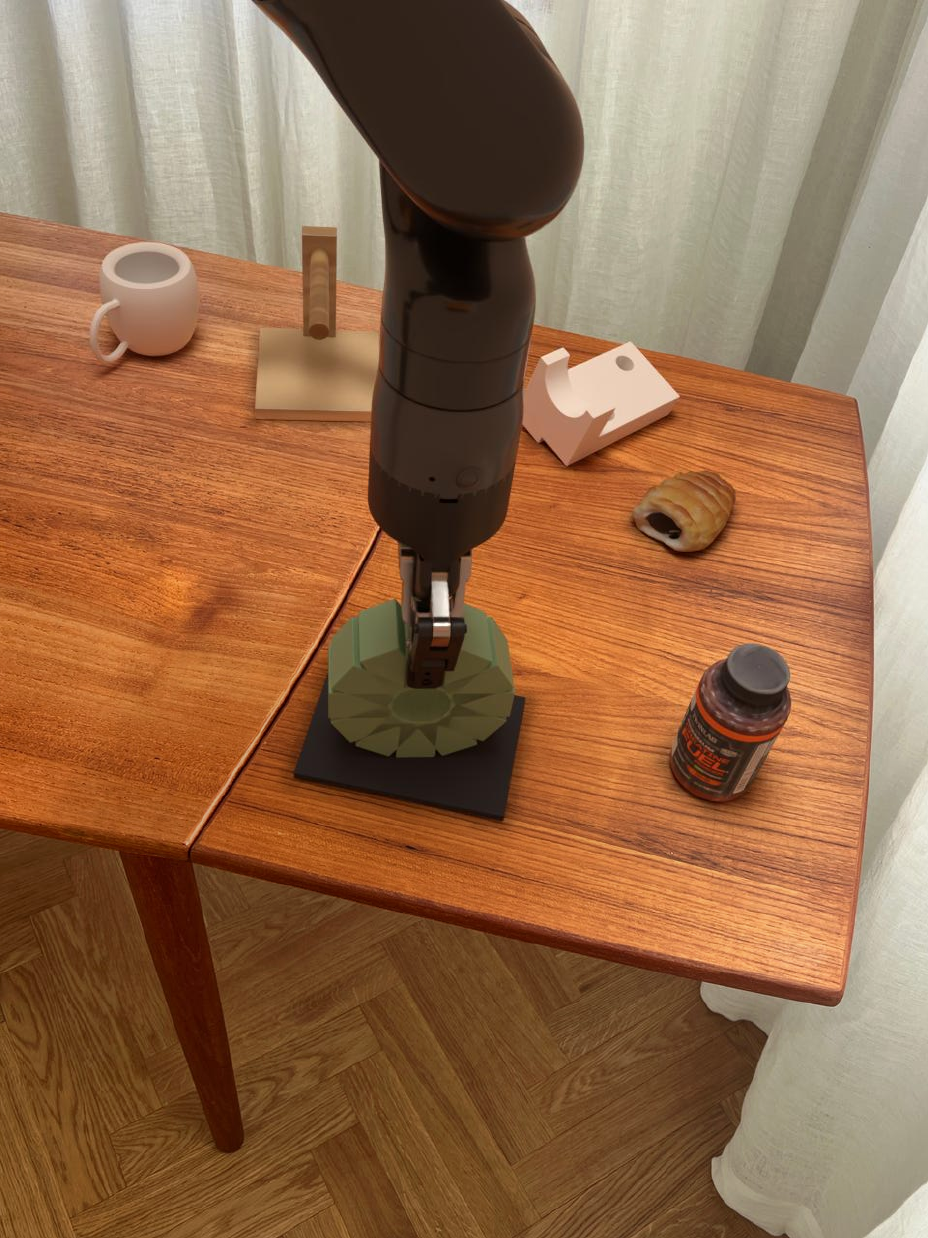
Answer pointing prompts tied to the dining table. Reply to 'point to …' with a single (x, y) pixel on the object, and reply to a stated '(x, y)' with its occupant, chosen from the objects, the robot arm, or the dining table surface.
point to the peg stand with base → (317, 350)
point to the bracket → (593, 400)
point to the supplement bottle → (732, 723)
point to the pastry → (686, 510)
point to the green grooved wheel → (416, 718)
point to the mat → (416, 767)
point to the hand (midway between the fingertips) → (421, 653)
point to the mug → (146, 300)
